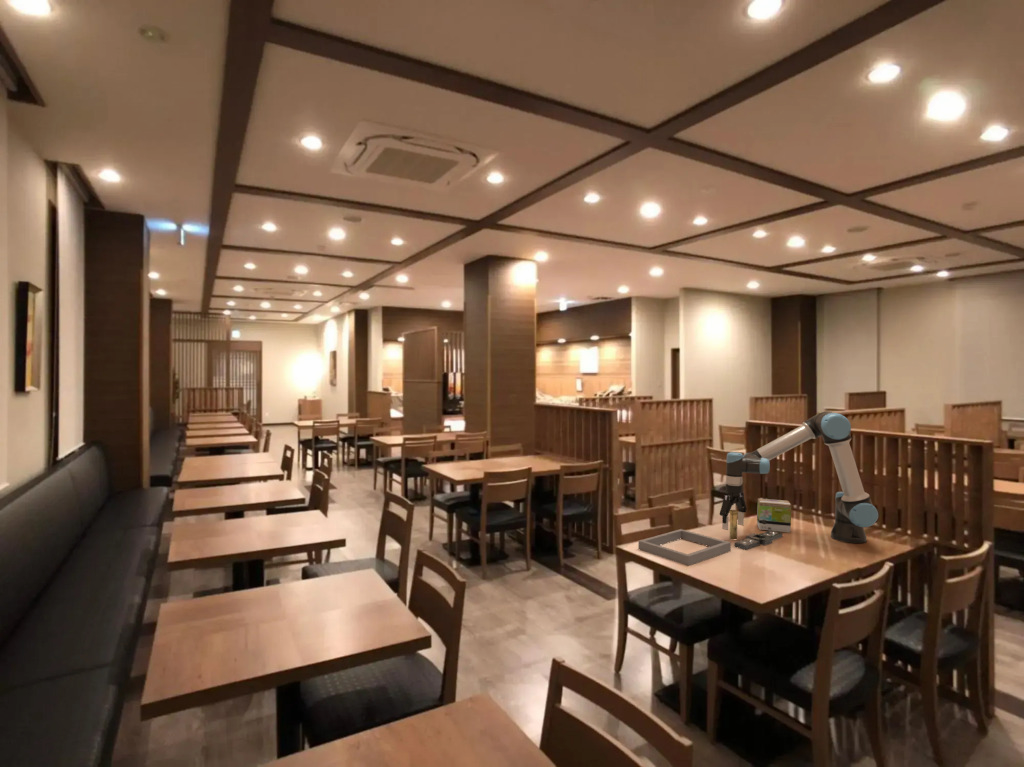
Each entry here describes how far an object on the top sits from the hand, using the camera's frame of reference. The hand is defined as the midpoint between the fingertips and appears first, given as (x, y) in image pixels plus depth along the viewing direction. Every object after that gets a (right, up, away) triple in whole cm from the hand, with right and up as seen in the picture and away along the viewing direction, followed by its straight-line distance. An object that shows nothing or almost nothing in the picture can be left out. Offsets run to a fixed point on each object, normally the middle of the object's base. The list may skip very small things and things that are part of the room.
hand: (733, 527), depth 276 cm
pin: (0, -6, 0) cm, 6 cm away
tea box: (+28, -6, +18) cm, 34 cm away
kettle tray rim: (-29, -6, -17) cm, 35 cm away
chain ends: (+11, -6, -4) cm, 13 cm away
